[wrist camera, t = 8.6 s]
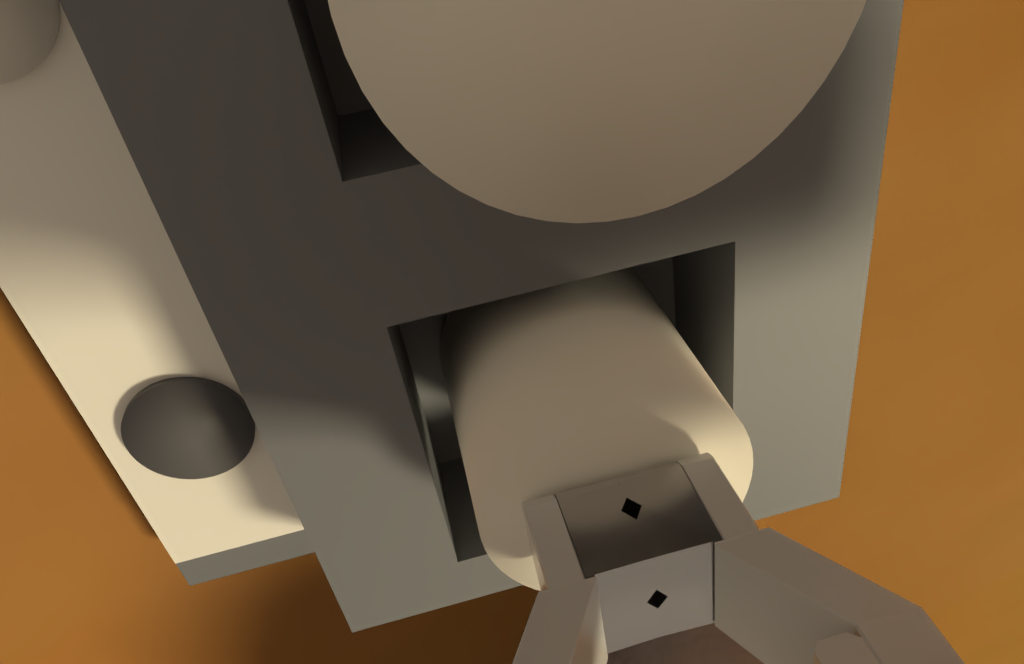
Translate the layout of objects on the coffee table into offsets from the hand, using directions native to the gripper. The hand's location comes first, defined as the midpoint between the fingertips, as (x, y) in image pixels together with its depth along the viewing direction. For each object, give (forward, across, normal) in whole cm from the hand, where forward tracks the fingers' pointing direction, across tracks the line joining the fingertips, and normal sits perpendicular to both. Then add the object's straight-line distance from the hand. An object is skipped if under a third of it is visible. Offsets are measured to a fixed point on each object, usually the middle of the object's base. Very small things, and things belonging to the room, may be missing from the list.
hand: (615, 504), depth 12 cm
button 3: (+4, 0, 0) cm, 4 cm away
